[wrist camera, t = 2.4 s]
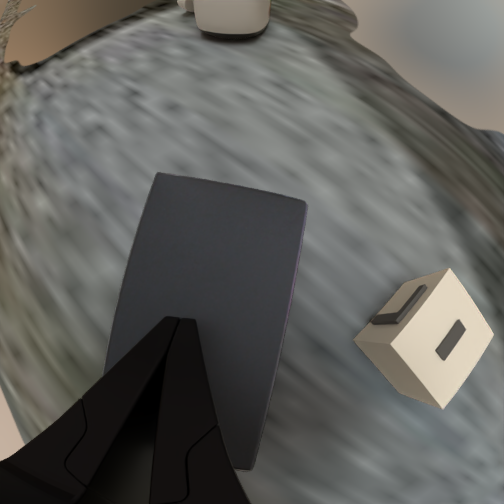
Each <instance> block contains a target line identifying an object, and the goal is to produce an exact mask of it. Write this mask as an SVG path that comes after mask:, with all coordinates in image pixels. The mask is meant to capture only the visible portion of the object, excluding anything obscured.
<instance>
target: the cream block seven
mask: <svg viewBox="0 0 504 504" xmlns="http://www.w3.org/2000/svg"><path fill="white" fill-rule="evenodd" d="M493 335H494V334H493V332H492V330H491V329H490V327H489V325H488V324H487V322H486V321H485V319H484V317H483V316H482V314H481V313H480V311H479V309H478V308H477V306H476V305H475V303H474V302H473V300H472V299H471V297H470V296H469V294H468V293H467V291H466V290H465V289H464V287H463V286H462V284H461V283H460V281H459V280H458V279H457V277H456V276H455V274H454V273H453V272H452V270H451V269H450V268H447V269H445V270H442V271H439V272H436V273H433V274H430V275H427V276H423V277H420V278H417V279H414V280H411V281H408V282H405V283H404V284H403V285H402V286H401V287H400V288H399V290H398V291H397V292H396V293H395V294H394V295H393V297H392V298H391V299H390V300H389V301H388V302H387V303H386V305H385V306H384V307H383V308H382V309H381V310H380V311H379V312H378V313H377V315H376V316H375V317H374V318H373V319H372V320H371V321H370V322H369V323H368V324H367V325H366V326H365V328H364V329H363V330H362V331H361V332H360V333H359V334H358V335H357V336H356V337H355V338H354V339H353V341H354V342H355V343H356V344H357V346H358V347H359V348H360V349H361V350H362V351H363V352H364V354H365V355H366V356H367V357H368V358H369V359H370V360H371V362H372V363H373V364H374V365H375V366H376V367H377V368H378V370H379V371H380V372H381V373H382V374H383V375H384V376H385V378H386V379H387V380H388V381H389V382H390V383H391V384H392V386H393V387H394V388H395V389H396V390H397V391H398V393H400V394H403V395H405V396H408V397H410V398H413V399H416V400H418V401H421V402H424V403H426V404H429V405H432V406H435V407H437V408H440V409H444V408H445V406H446V405H447V404H448V402H449V401H450V400H451V399H452V397H453V396H454V395H455V393H456V392H457V391H458V389H459V388H460V387H461V385H462V384H463V382H464V381H465V380H466V378H467V377H468V375H469V374H470V372H471V371H472V369H473V368H474V366H475V365H476V363H477V362H478V360H479V359H480V357H481V356H482V354H483V352H484V351H485V349H486V347H487V346H488V344H489V342H490V341H491V339H492V337H493Z"/></svg>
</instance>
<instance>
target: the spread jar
mask: <svg viewBox="0 0 504 504" xmlns="http://www.w3.org/2000/svg"><path fill="white" fill-rule="evenodd" d="M177 3H178V5H179V6H180V7H182V8H183V9H185V10H187V11H189V12H194V13H195V19H196V23H197V26H198V28H199V29H200V30H201V31H202V32H204V33H206V34H208V35H211V36H215V37H218V38H223V39H244V38H249V37H253V36H256V35H258V34H260V33H262V32H263V31H264V30H265V28H266V26H267V24H268V21H269V16H270V9H271V0H177Z"/></svg>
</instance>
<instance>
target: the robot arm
mask: <svg viewBox="0 0 504 504" xmlns="http://www.w3.org/2000/svg"><path fill="white" fill-rule="evenodd" d="M0 504H251V503H250V501H249V499H248V497H247V495H246V493H245V491H244V489H243V487H242V485H241V483H240V481H239V479H238V477H237V474H236V472H235V470H234V467H233V465H232V463H231V460H230V458H229V455H228V452H227V449H226V445H225V442H224V439H223V435H222V431H221V428H220V426H219V420H218V416H217V412H216V408H215V404H214V400H213V396H212V392H211V387H210V383H209V379H208V374H207V370H206V365H205V361H204V356H203V351H202V346H201V341H200V336H199V331H198V326H197V321H196V319H193V318H181V319H180V318H179V317H174V316H165V317H164V318H163V319H162V320H161V321H160V322H158V323H157V324H156V325H155V326H154V327H153V328H152V329H151V330H150V331H149V332H148V333H147V334H146V335H145V336H144V337H143V338H142V339H141V340H140V341H139V342H138V343H137V344H136V345H134V346H133V347H132V348H131V349H130V350H129V351H128V352H127V353H126V354H125V355H124V356H123V357H122V358H121V359H120V360H119V361H118V362H117V363H116V364H115V365H114V366H113V367H112V368H111V369H110V370H109V371H108V372H107V373H106V374H104V375H103V376H102V377H101V378H100V379H99V380H98V381H97V382H96V383H95V384H94V385H93V386H92V387H91V388H90V389H89V390H88V391H87V392H86V393H85V394H84V395H83V396H82V399H81V398H80V399H79V400H78V401H77V402H76V403H75V404H74V405H73V406H72V407H71V408H70V409H68V410H67V411H66V412H65V413H64V414H63V415H62V416H61V417H60V418H59V419H58V420H56V421H55V422H54V423H53V424H52V425H50V426H49V427H48V428H47V429H46V430H44V431H43V432H42V433H40V434H39V435H38V436H37V437H35V438H34V439H33V440H31V441H30V442H29V443H27V444H26V445H25V446H24V447H22V448H21V449H20V450H18V451H17V452H16V453H14V454H13V455H12V456H10V457H9V458H7V459H4V460H2V461H0Z"/></svg>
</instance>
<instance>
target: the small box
mask: <svg viewBox="0 0 504 504" xmlns="http://www.w3.org/2000/svg"><path fill="white" fill-rule="evenodd" d="M307 211H308V204H307V202H306V201H304V200H301V199H297V198H293V197H290V196H286V195H282V194H277V193H273V192H268V191H263V190H258V189H254V188H248V187H244V186H240V185H234V184H229V183H222V182H217V181H212V180H207V179H200V178H195V177H189V176H182V175H176V174H169V173H161V172H157V173H156V175H155V178H154V181H153V184H152V186H151V189H150V192H149V194H148V197H147V200H146V203H145V206H144V209H143V212H142V215H141V218H140V221H139V224H138V227H137V230H136V234H135V237H134V240H133V243H132V246H131V250H130V254H129V257H128V261H127V264H126V268H125V271H124V275H123V279H122V283H121V287H120V290H119V295H118V299H117V303H116V307H115V312H114V317H113V321H112V326H111V331H110V336H109V341H108V346H107V351H106V357H105V363H104V368H103V374H102V376H103V375H104V374H106V373H107V372H108V371H109V370H110V369H111V368H112V367H113V366H114V365H115V364H116V363H117V362H118V361H119V360H120V359H121V358H122V357H123V356H124V355H125V354H126V353H127V352H128V351H129V350H130V349H131V348H132V347H133V346H134V345H136V344H137V343H138V342H139V341H140V340H141V339H142V338H143V337H144V336H145V335H146V334H147V333H148V332H149V331H150V330H151V329H152V328H153V327H154V326H155V325H156V324H157V323H158V322H160V321H161V320H162V319H163V318H164V317H165V316H174V317H179V318H180V319H181V318H193V319H196V321H197V326H198V331H199V336H200V341H201V346H202V351H203V356H204V361H205V365H206V370H207V374H208V379H209V383H210V387H211V392H212V396H213V400H214V404H215V408H216V412H217V416H218V420H219V426H220V428H221V431H222V435H223V439H224V442H225V445H226V449H227V452H228V455H229V458H230V460H231V463H232V465H233V467H234V470H238V471H244V472H249V471H252V469H253V467H254V464H255V461H256V456H257V453H258V449H259V445H260V441H261V437H262V433H263V429H264V425H265V421H266V417H267V413H268V408H269V404H270V400H271V396H272V391H273V387H274V382H275V378H276V373H277V369H278V364H279V359H280V355H281V350H282V345H283V341H284V336H285V331H286V326H287V321H288V316H289V311H290V306H291V301H292V296H293V291H294V285H295V280H296V275H297V269H298V264H299V258H300V253H301V247H302V241H303V235H304V230H305V223H306V217H307Z"/></svg>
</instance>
